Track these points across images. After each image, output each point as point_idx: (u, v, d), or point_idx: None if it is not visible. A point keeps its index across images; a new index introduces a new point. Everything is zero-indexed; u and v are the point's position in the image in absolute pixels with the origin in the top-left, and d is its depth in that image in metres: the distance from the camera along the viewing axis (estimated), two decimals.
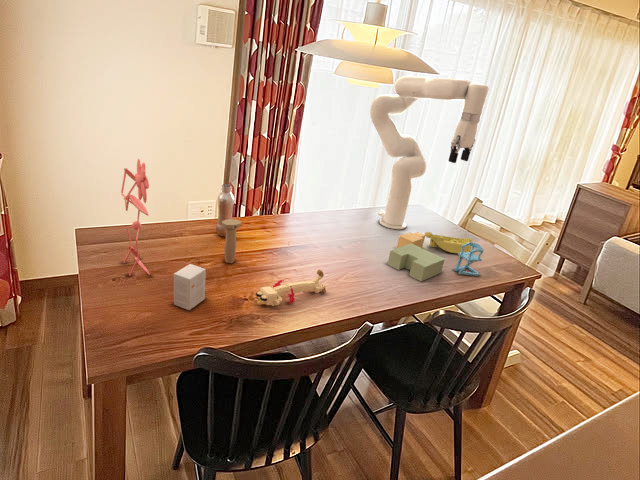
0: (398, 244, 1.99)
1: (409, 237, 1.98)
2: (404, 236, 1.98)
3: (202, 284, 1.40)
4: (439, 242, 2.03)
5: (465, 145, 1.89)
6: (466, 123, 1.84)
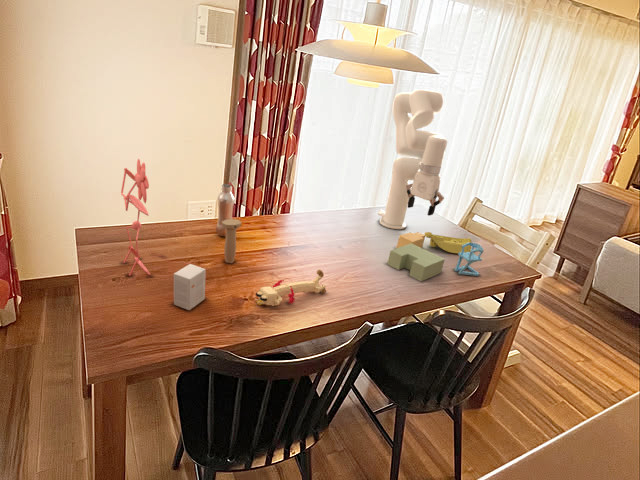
0: (398, 244, 1.99)
1: (409, 237, 1.98)
2: (404, 236, 1.98)
3: (202, 284, 1.40)
4: (439, 242, 2.03)
5: None
6: None
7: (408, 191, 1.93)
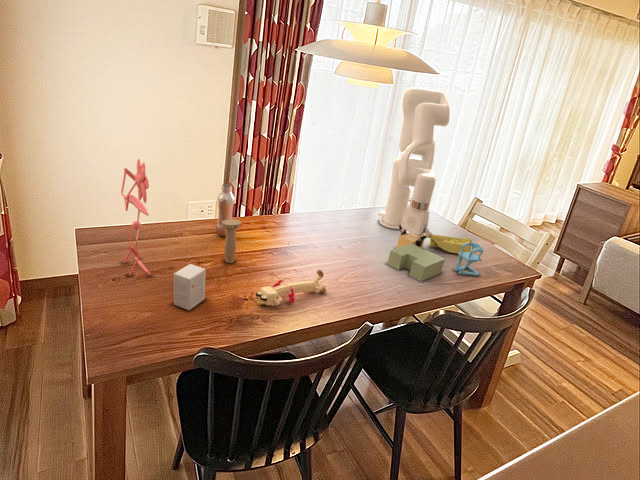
0: (398, 244, 1.99)
1: (409, 237, 1.98)
2: (404, 236, 1.98)
3: (202, 284, 1.40)
4: (439, 242, 2.03)
5: None
6: None
7: (400, 226, 2.00)
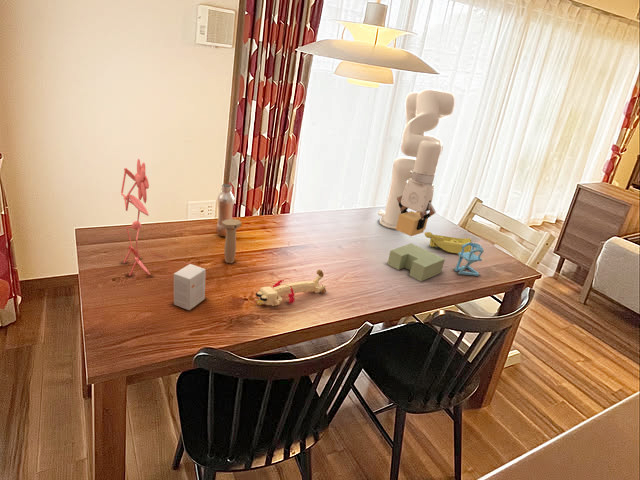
0: (398, 224, 1.73)
1: (410, 215, 1.72)
2: (405, 215, 1.72)
3: (202, 284, 1.40)
4: (439, 242, 2.03)
5: None
6: (433, 186, 1.65)
7: (400, 204, 1.74)
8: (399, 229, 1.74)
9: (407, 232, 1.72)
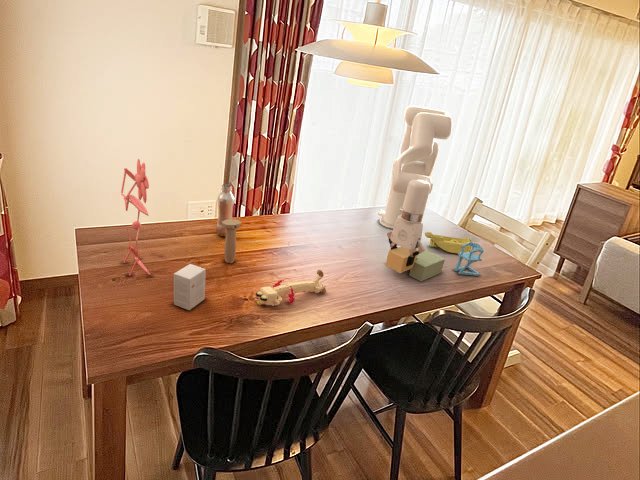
0: (387, 260, 1.74)
1: (400, 252, 1.73)
2: (394, 251, 1.73)
3: (202, 284, 1.40)
4: (439, 242, 2.03)
5: None
6: (422, 224, 1.66)
7: (390, 240, 1.75)
8: (389, 265, 1.74)
9: (396, 269, 1.72)
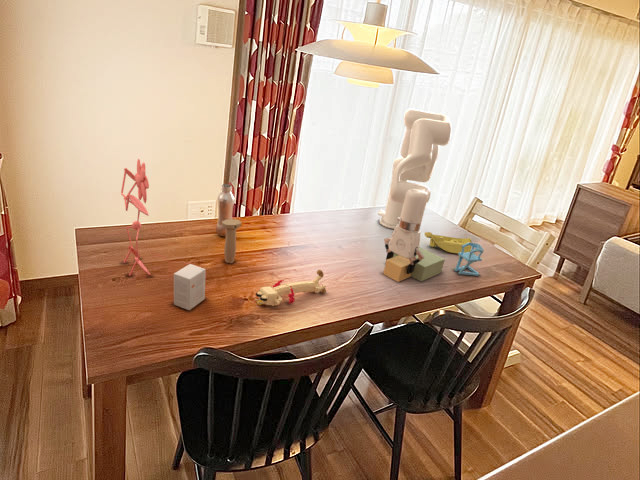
0: (385, 269, 1.76)
1: (397, 261, 1.75)
2: (392, 260, 1.74)
3: (202, 284, 1.40)
4: (439, 242, 2.03)
5: None
6: None
7: (386, 246, 1.77)
8: (386, 274, 1.76)
9: (394, 277, 1.74)
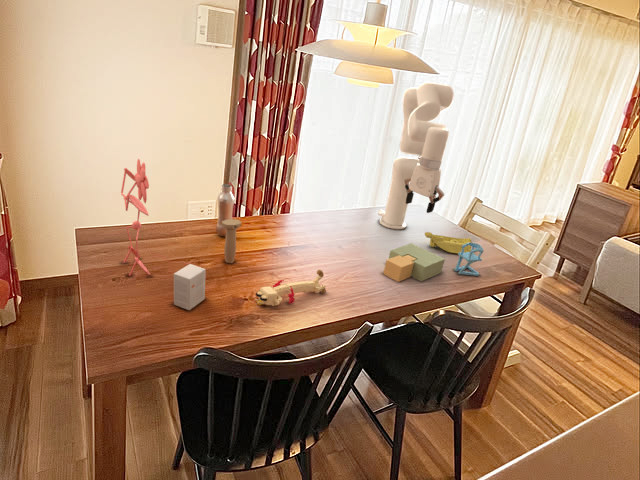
0: (385, 269, 1.76)
1: (397, 261, 1.75)
2: (392, 260, 1.74)
3: (202, 284, 1.40)
4: (439, 242, 2.03)
5: None
6: (440, 171, 1.72)
7: (406, 186, 1.81)
8: (386, 274, 1.76)
9: (394, 277, 1.74)
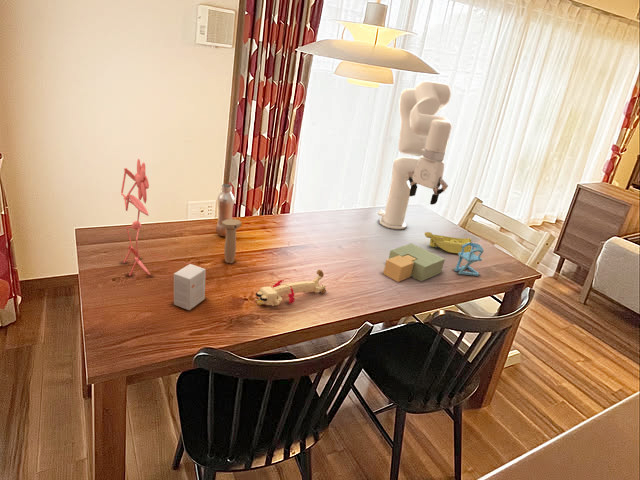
0: (385, 269, 1.76)
1: (397, 261, 1.75)
2: (392, 260, 1.74)
3: (202, 284, 1.40)
4: (439, 242, 2.03)
5: None
6: (443, 163, 1.74)
7: (410, 179, 1.84)
8: (386, 274, 1.76)
9: (394, 277, 1.74)
